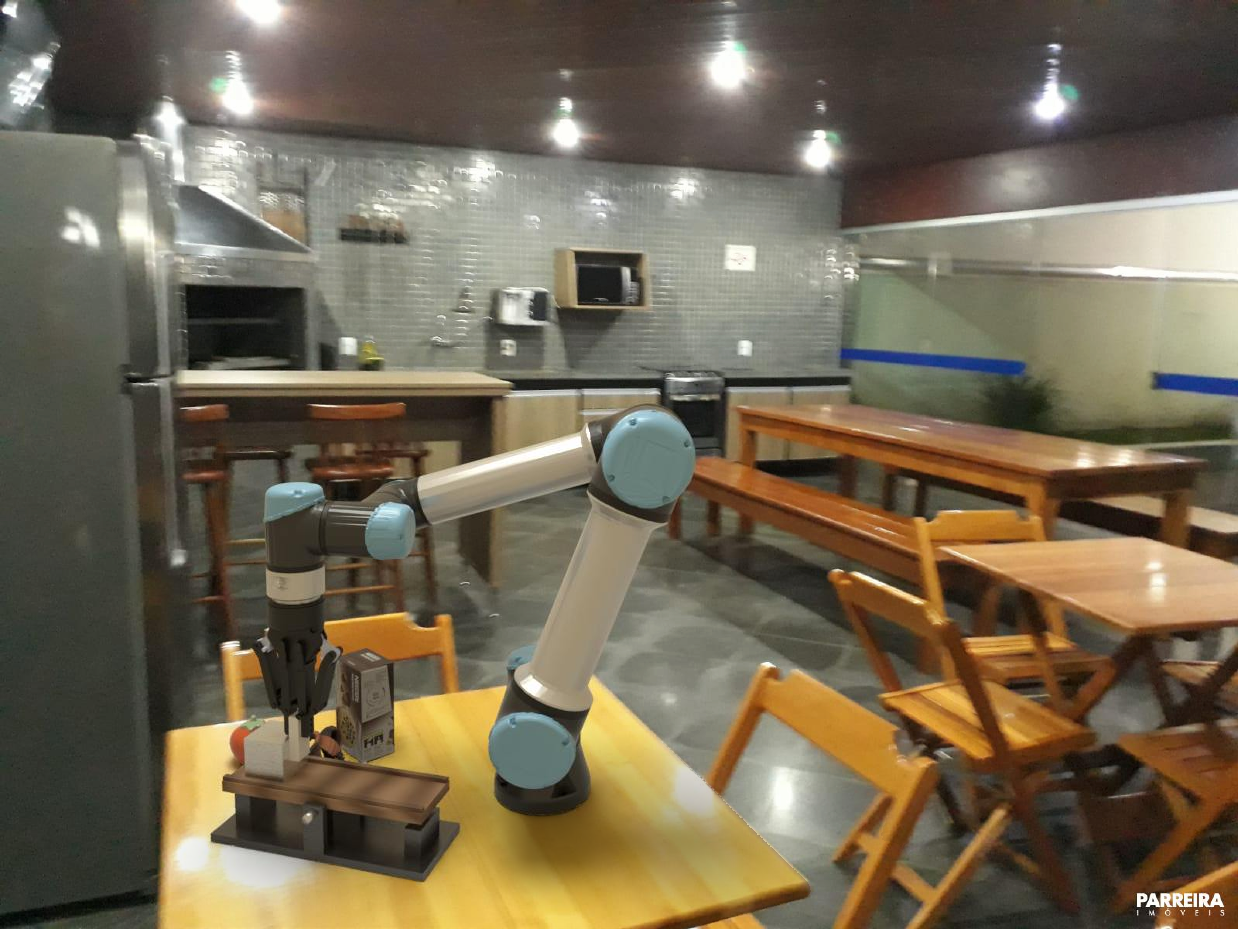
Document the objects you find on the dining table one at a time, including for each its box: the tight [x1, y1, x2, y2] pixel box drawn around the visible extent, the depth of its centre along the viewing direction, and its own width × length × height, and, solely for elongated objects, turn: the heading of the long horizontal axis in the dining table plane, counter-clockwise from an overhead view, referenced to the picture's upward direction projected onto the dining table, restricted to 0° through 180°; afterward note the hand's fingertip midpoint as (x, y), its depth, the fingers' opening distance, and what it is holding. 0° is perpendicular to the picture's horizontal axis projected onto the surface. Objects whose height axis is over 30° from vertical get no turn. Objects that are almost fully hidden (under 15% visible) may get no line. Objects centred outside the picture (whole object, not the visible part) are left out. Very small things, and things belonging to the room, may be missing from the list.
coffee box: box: [334, 647, 395, 763], centre depth 147 cm, size 9×6×16 cm
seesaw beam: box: [221, 755, 450, 825], centre depth 122 cm, size 30×9×2 cm, turn 77°
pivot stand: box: [210, 761, 461, 883], centre depth 122 cm, size 32×15×8 cm, turn 77°
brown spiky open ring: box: [308, 725, 346, 761], centre depth 139 cm, size 12×10×8 cm
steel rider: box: [244, 719, 308, 783], centre depth 123 cm, size 6×6×6 cm
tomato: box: [229, 714, 267, 766], centre depth 142 cm, size 7×7×8 cm
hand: (299, 756), depth 122 cm, fingers closed
